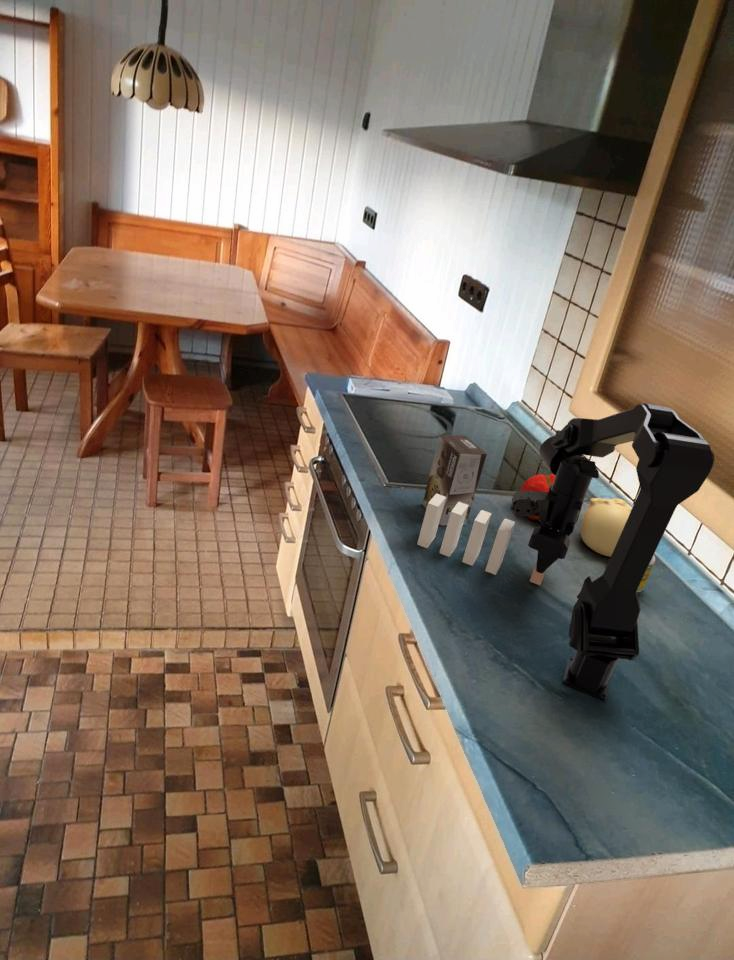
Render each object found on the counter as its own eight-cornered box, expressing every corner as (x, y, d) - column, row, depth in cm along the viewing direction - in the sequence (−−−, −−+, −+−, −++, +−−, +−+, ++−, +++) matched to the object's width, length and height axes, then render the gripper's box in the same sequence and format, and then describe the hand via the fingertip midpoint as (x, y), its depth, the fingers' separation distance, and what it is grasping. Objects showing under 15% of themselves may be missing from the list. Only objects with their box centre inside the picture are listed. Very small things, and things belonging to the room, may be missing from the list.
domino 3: (472, 565, 128) (485, 524, 124) (462, 561, 129) (474, 520, 125) (479, 554, 133) (491, 513, 129) (469, 550, 133) (481, 509, 129)
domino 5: (540, 585, 124) (556, 542, 120) (529, 581, 125) (544, 538, 121) (545, 572, 129) (560, 531, 125) (534, 568, 129) (549, 527, 125)
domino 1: (426, 548, 131) (438, 506, 127) (417, 544, 131) (428, 503, 128) (435, 537, 135) (446, 496, 131) (425, 533, 136) (436, 493, 132)
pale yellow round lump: (630, 544, 149) (649, 500, 144) (630, 570, 139) (650, 524, 134) (577, 526, 152) (594, 483, 147) (573, 551, 141) (590, 505, 137)
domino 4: (495, 575, 127) (509, 532, 123) (485, 570, 128) (498, 529, 124) (501, 562, 131) (515, 522, 127) (491, 559, 132) (504, 518, 128)
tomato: (560, 536, 146) (574, 499, 142) (507, 514, 150) (519, 477, 146) (573, 519, 155) (586, 483, 151) (522, 498, 159) (533, 463, 155)
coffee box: (467, 525, 142) (488, 454, 135) (440, 526, 140) (460, 453, 133) (447, 503, 150) (466, 434, 143) (420, 503, 147) (438, 433, 140)
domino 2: (449, 557, 130) (461, 515, 126) (439, 553, 130) (451, 511, 126) (456, 545, 134) (468, 505, 130) (447, 542, 134) (458, 501, 131)
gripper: (533, 457, 129) (509, 529, 136) (512, 492, 113) (486, 572, 120) (593, 477, 126) (565, 549, 133) (580, 516, 110) (550, 596, 117)
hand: (541, 565), depth 126 cm, fingers closed on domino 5, 5 cm apart
